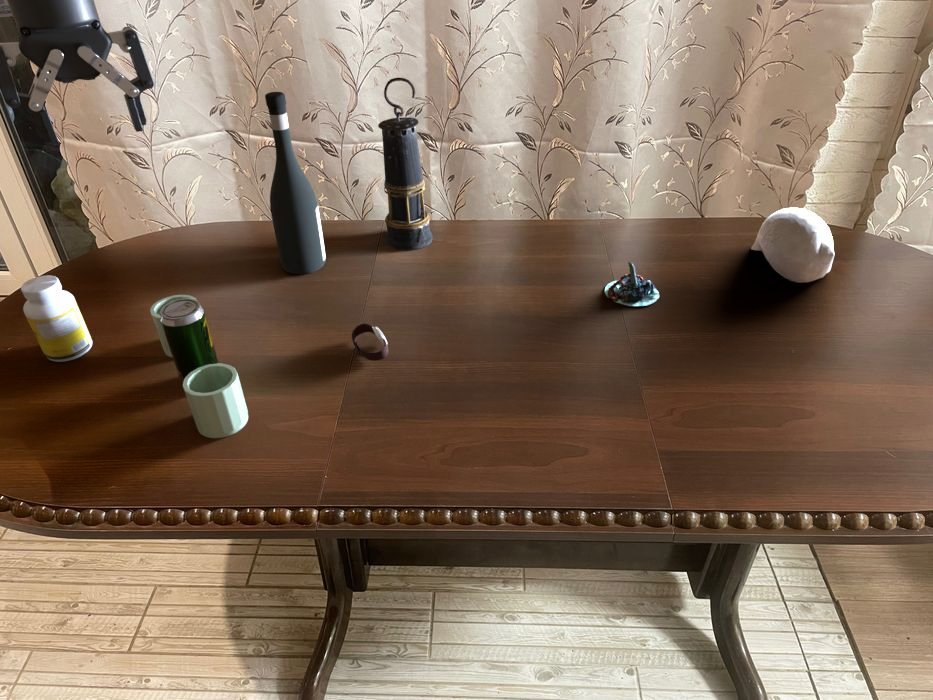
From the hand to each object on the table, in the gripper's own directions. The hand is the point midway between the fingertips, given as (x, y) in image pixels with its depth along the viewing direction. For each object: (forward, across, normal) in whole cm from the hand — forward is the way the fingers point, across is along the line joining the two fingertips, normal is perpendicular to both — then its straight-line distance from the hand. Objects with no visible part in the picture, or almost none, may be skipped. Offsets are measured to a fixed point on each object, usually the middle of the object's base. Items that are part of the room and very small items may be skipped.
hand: (98, 136), depth 73 cm
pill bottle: (+34, +13, -14) cm, 39 cm away
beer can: (+34, -2, +4) cm, 34 cm away
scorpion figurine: (+34, -70, +18) cm, 80 cm away
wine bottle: (+34, -26, -20) cm, 48 cm away
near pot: (+34, -3, +14) cm, 36 cm away
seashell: (+34, -100, +26) cm, 109 cm away
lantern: (+34, -47, -20) cm, 62 cm away
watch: (+34, -26, +10) cm, 44 cm away
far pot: (+34, -2, -6) cm, 34 cm away
